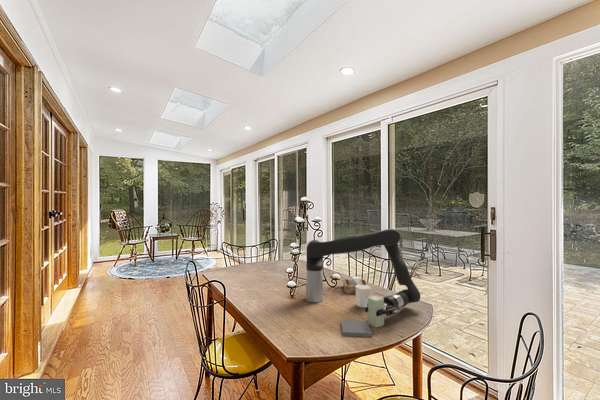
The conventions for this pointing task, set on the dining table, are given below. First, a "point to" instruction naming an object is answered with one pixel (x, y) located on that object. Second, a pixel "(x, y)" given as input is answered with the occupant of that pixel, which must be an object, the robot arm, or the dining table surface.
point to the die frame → (351, 289)
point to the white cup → (362, 295)
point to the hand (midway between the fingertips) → (371, 311)
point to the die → (355, 281)
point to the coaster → (356, 328)
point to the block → (373, 306)
